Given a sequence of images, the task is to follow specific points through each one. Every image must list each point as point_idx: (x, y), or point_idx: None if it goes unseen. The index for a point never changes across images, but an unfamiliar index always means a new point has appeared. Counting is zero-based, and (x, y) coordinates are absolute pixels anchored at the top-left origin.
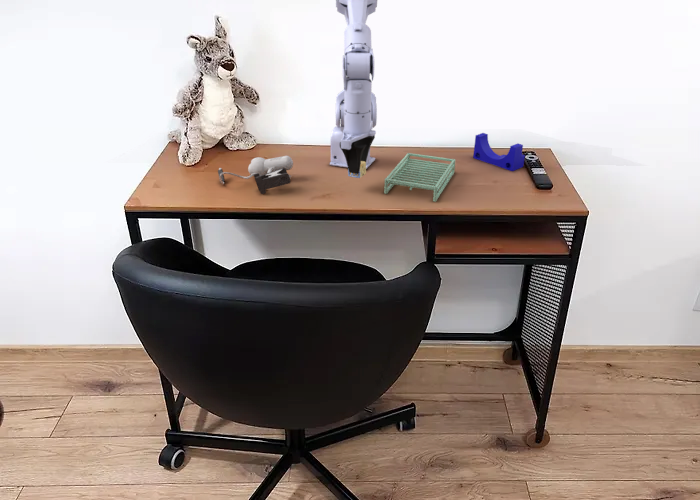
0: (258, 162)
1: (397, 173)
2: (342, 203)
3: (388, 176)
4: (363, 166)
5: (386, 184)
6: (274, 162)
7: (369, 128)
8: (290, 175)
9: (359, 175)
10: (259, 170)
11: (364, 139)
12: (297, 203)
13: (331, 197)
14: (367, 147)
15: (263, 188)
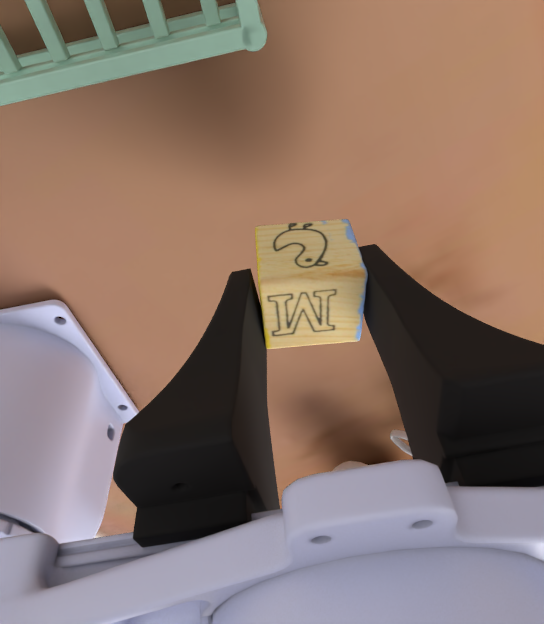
0: None
1: (9, 55)
2: (497, 170)
3: (194, 48)
4: (300, 262)
5: (261, 16)
6: None
7: (411, 620)
8: (407, 438)
9: (351, 230)
10: None
11: (253, 460)
12: (540, 316)
13: (440, 250)
14: (241, 371)
15: None
